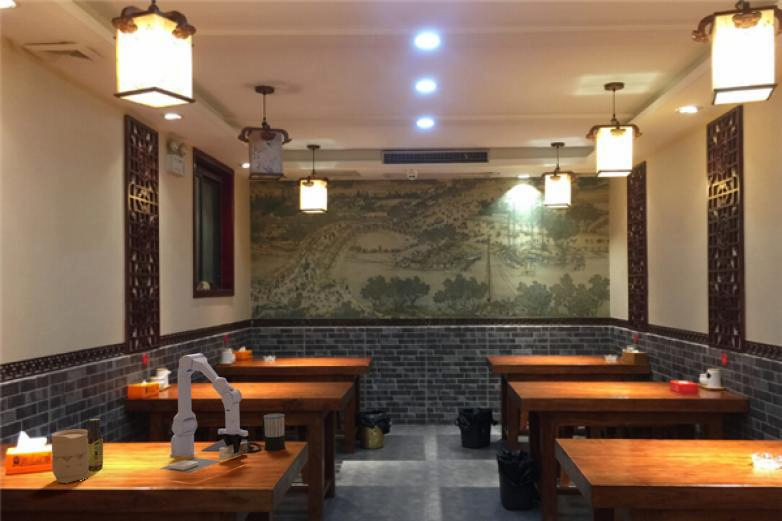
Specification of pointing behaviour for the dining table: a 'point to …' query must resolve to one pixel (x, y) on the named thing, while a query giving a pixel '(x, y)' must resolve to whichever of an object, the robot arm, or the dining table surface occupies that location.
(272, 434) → the milk frother
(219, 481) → the dining table surface
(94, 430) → the sauce bottle
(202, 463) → the slate mat
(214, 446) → the notebook
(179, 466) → the tile
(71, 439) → the container
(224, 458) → the long wooden beam
